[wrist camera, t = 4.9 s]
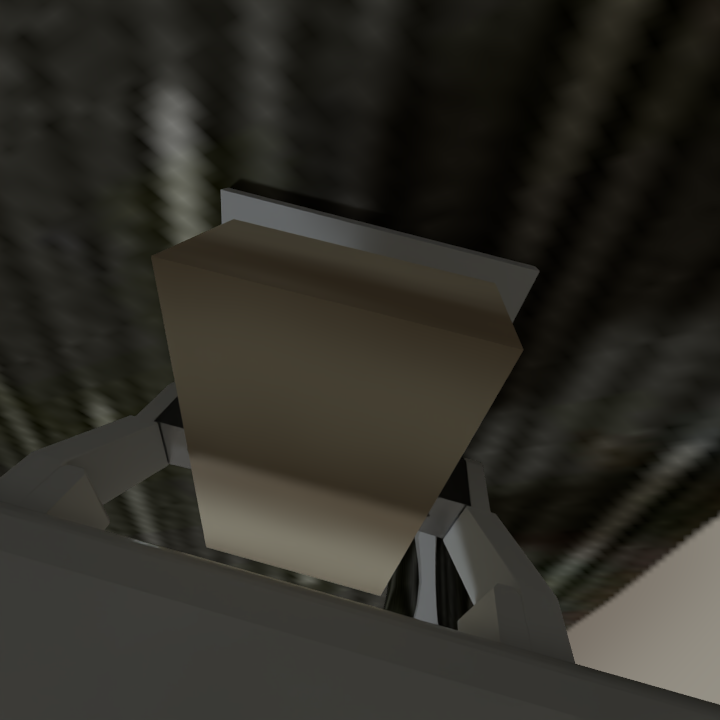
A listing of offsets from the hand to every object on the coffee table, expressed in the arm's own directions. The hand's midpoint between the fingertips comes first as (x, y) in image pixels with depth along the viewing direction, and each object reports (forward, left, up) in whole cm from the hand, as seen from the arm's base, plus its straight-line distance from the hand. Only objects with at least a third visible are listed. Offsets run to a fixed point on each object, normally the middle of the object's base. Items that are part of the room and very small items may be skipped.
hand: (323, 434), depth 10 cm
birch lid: (0, 0, -1) cm, 1 cm away
